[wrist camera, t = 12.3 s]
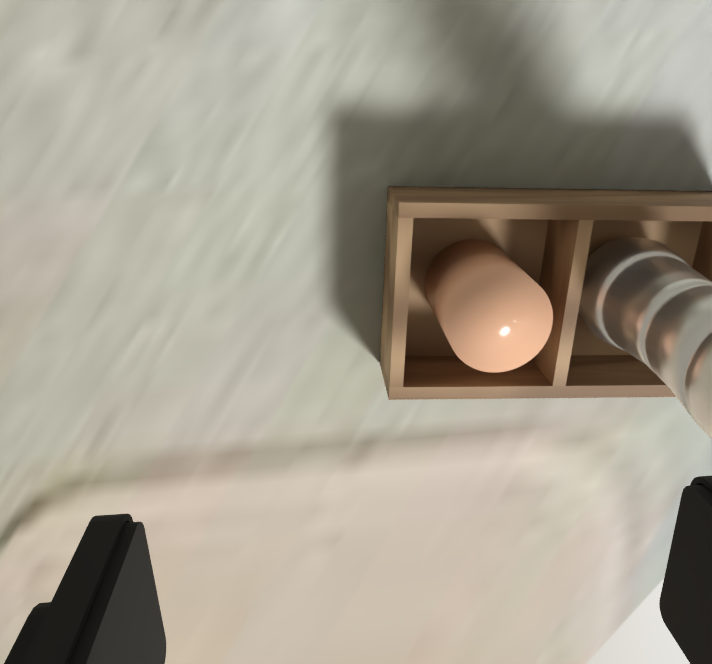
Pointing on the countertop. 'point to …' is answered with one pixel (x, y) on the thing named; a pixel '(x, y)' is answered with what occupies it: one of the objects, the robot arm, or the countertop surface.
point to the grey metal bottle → (654, 316)
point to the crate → (543, 264)
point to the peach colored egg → (487, 306)
